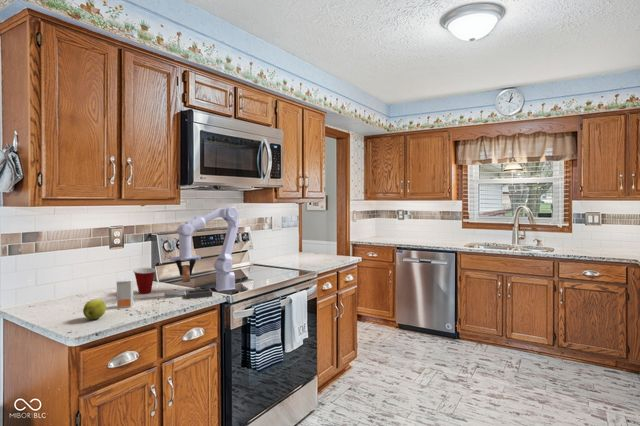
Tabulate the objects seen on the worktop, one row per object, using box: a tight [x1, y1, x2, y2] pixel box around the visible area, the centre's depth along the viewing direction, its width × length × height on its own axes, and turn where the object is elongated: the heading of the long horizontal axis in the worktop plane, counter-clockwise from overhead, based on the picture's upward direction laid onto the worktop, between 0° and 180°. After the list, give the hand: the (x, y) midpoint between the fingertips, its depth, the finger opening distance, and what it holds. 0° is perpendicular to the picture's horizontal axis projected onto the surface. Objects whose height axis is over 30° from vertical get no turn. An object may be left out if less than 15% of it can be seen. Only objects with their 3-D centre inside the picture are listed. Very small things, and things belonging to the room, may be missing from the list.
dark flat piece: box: [185, 286, 213, 300], centre depth 204 cm, size 12×9×3 cm
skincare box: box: [116, 278, 134, 309], centre depth 185 cm, size 6×4×12 cm
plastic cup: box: [133, 267, 157, 295], centre depth 211 cm, size 11×11×12 cm
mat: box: [164, 290, 187, 299], centre depth 206 cm, size 9×9×1 cm
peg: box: [181, 264, 191, 283], centre depth 204 cm, size 4×4×8 cm
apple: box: [82, 298, 107, 320], centre depth 167 cm, size 8×9×8 cm
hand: (185, 275), depth 204 cm, fingers closed on peg, 4 cm apart
